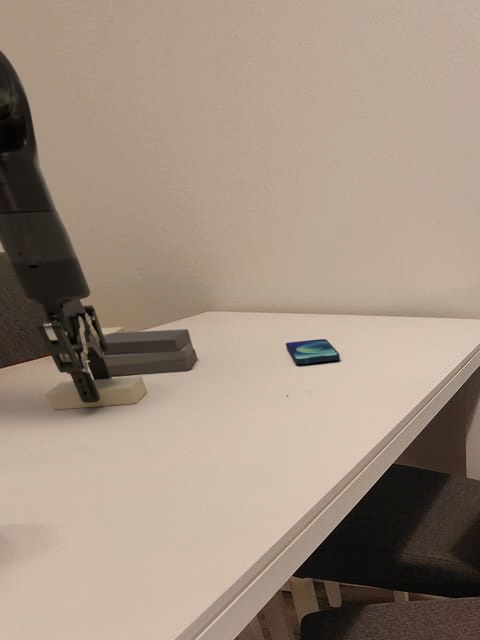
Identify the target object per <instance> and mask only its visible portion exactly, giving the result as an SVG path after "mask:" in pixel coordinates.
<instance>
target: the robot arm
mask: <svg viewBox="0 0 480 640" xmlns="http://www.w3.org/2000/svg"><path fill="white" fill-rule="evenodd" d="M39 158H40V157H39V149H38V143H37V138H36V131H35V125H34V120H33V116H32V109H31V106H30V101H29V99H28V95H27V92H26V90H25V87H24V84H23V82H22V80H21V78H20V76H19V74H18V73H17V71H16V69H15V67H14V66H13V64H12V62H11V61H10V60H9V58H8V57H7V56H6V55H5V53H4V52H3V51H2V50H1V49H0V245H1V247H2V250H3V252H4V254H5V256H6V258H7V260H8V263H9V265H10V268H11V270H12V272H13V275H14V277H15V279H16V281H17V283H18V286H19V287H20V290H21V293H22V295H23V297H24V299H25V300H26V301H27V302H30V303H32V304H33V303H35V304H40V305H41V307H42V308H43V312H44V316H45V320H46V321H45V322H37V323H36V328H37V330H38V333H39V334H40V337H41V339H42V341H43V343H44V344H45V346H46V348H47V350H48V352H49V354H50V356H51V358H52V361H53V362H54V364H55V366H56V368H57V370H58V371H59V373H66V374H67V375H70V376H71V379H72V381H73V382H74V384H75V386H76V388H77V391H78V393H79V395H80V398H81V400H82V401H83V402H85V403H91V402H98V401H99V400H100V396H99V394H98V392H97V389H96V386H95V384H94V382H93V380H97V379H112V378H113V376H111V375H110V372H109V370H108V367H107V365H106V362H105V361H104V360H106V355H105V353H104V352H108V347H107V345H106V342H105V339H104V336H103V333H102V330H101V328H102V327H101V324H100V322H99V318H98V316H97V313H96V309H95V307H94V306H93V305H83V303H82V301H81V300H83V299H86V298H89V297H90V296H91V290H90V286H89V285H88V282H87V279H86V276H85V273H84V271H83V268H82V265H81V263H80V260H79V258H78V256H77V253H76V250H75V248H74V245H73V242H72V240H71V237H70V234H69V232H68V230H67V228H66V225H65V224H64V222H63V220H62V218H61V216H60V214H59V212H58V210H57V206H56V204H55V201H54V199H53V196H52V193H51V191H50V189H49V185H48V183H47V181H46V178H45V176H44V173H43V171H42V168H41V164H40V159H39ZM89 335H90V337H89ZM59 354H60V355H61V356H62V359H61V357H60V355H59ZM76 355H77V356H78V358H77V356H76ZM62 360H63V361H62Z"/></svg>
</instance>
